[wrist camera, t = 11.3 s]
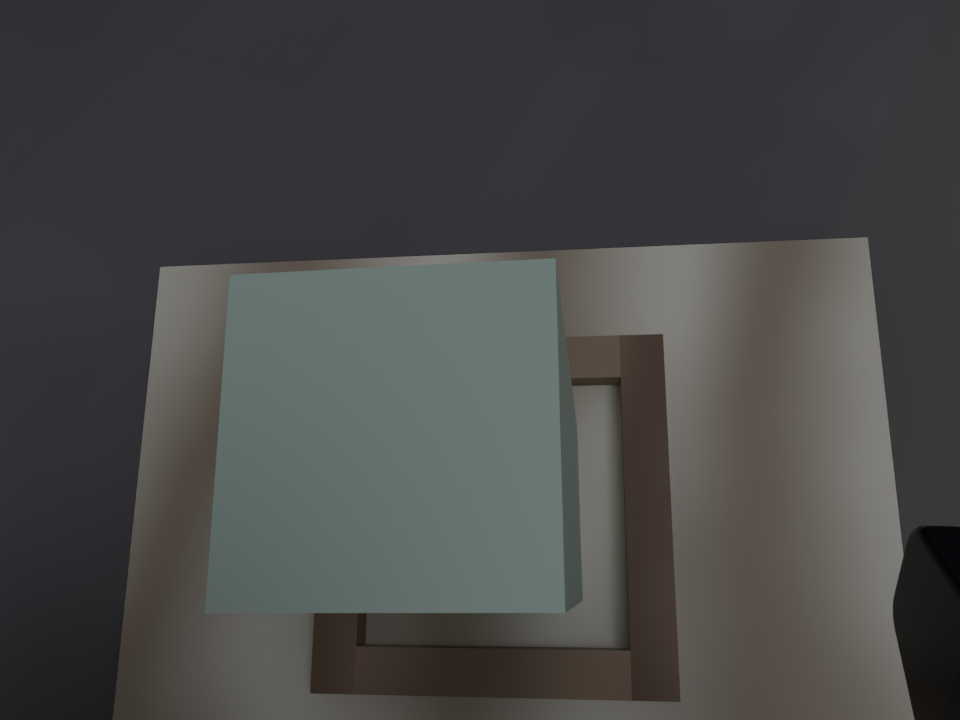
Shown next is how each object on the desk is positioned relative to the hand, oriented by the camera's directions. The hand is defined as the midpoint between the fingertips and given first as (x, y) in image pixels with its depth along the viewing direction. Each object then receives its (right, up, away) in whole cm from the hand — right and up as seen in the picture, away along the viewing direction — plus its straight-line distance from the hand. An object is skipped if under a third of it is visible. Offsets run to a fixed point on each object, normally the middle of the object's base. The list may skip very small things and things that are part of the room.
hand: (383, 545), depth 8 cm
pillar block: (+1, -2, +13) cm, 13 cm away
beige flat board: (+1, -2, +13) cm, 14 cm away
